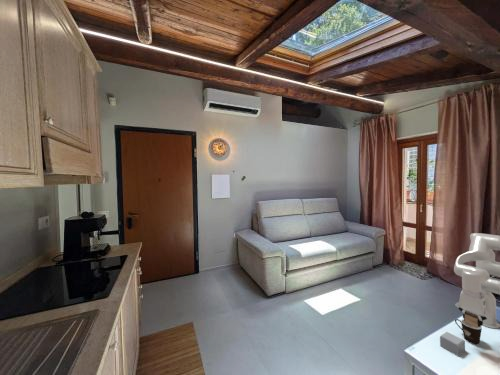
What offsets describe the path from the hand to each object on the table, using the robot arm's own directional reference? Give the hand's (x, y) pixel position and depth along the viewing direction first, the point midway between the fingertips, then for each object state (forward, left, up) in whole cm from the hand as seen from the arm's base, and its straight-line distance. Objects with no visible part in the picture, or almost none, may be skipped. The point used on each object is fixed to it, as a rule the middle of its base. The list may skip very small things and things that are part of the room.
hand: (472, 322), depth 118 cm
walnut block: (0, 0, -1) cm, 1 cm away
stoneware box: (+10, -6, -16) cm, 19 cm away
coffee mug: (-8, -4, -16) cm, 18 cm away
